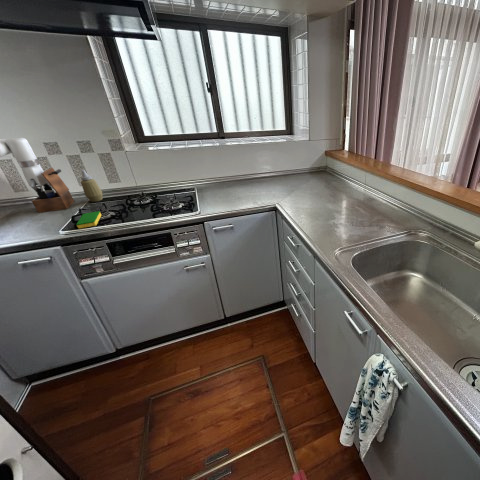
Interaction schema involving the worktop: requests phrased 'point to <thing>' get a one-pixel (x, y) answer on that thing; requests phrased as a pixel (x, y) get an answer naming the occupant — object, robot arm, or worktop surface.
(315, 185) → the worktop surface
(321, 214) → the worktop surface
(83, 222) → the dish sponge
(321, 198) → the worktop surface
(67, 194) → the storage box
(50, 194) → the rice dish
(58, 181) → the box lid
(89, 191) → the squeeze bottle
